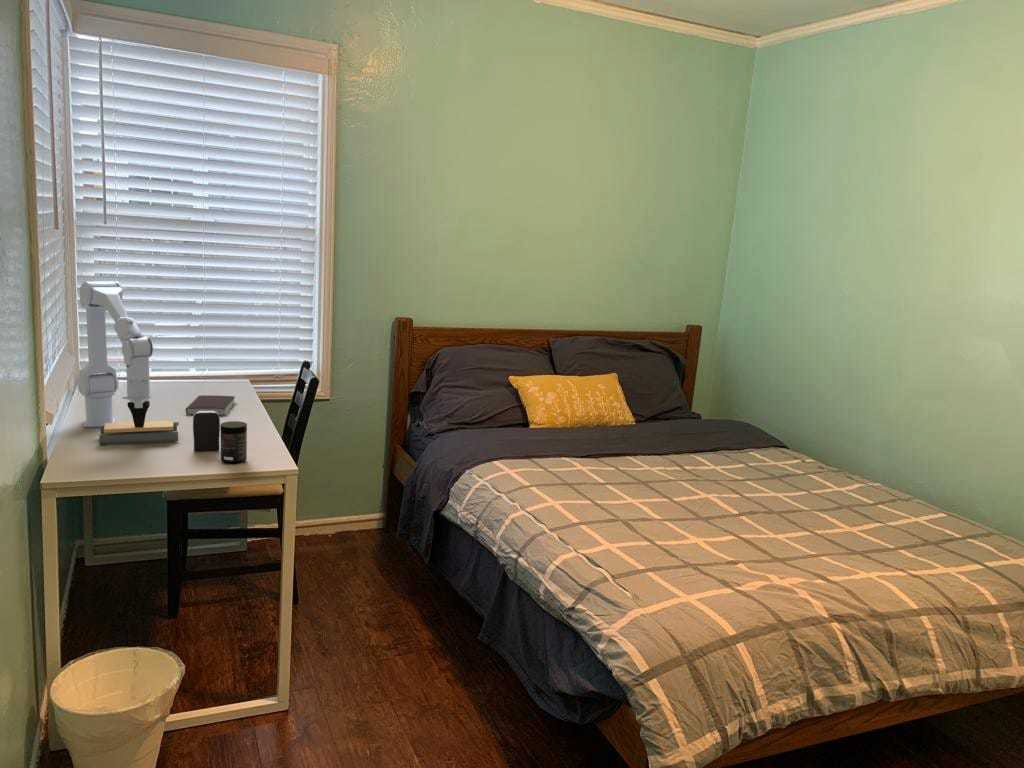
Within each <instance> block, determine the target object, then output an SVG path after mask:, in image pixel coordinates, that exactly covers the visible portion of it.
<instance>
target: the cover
mask: <svg viewBox="0 0 1024 768" xmlns="http://www.w3.org/2000/svg"><path fill="white" fill-rule="evenodd" d="M173 422H174V421H173V420H153V421H145V422H144V426H143V427H135V425H134V421H132V422H131V421H130V422H128V421H126V422H125V421H124V422H114V423H105V426H104V433H114V432H137V431H160V430H173Z"/></svg>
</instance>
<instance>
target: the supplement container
mask: <svg viewBox="0 0 1024 768" xmlns="http://www.w3.org/2000/svg"><path fill="white" fill-rule="evenodd" d="M247 446H248V423H246V422H244V421H237V420H235V421H233V420H232V421H225V422H221V423H220V461H221V462H222V463H223V464H225V465H229V466H230V465H231V466H234V465H235V466H236V465H240V464H244V463H245V462H246V461H247V459H248V450H247V449H248V447H247Z"/></svg>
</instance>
